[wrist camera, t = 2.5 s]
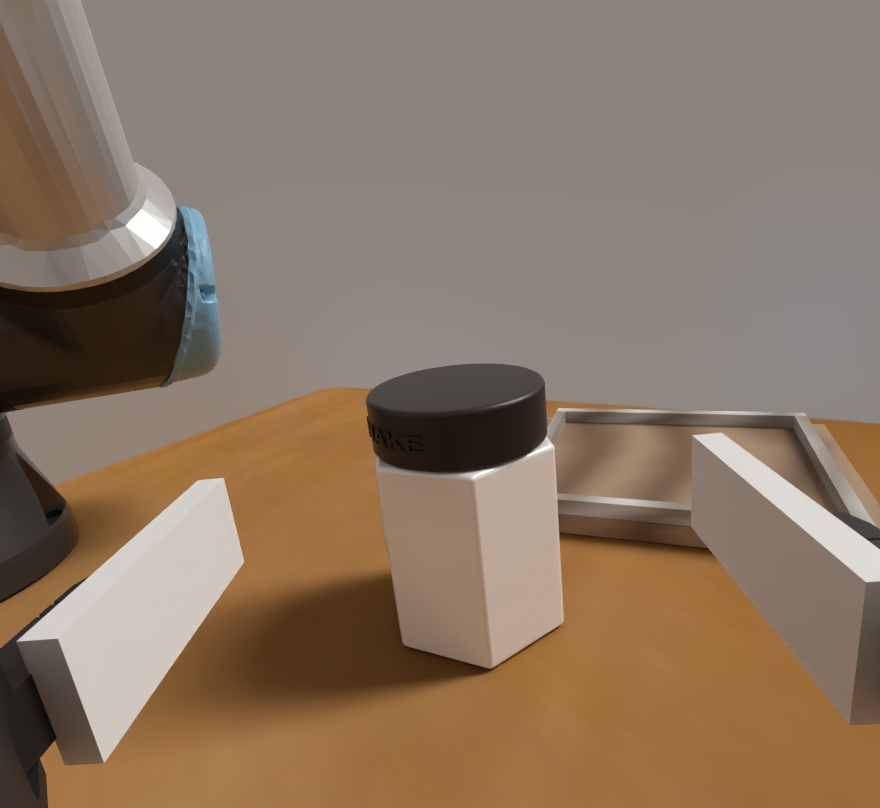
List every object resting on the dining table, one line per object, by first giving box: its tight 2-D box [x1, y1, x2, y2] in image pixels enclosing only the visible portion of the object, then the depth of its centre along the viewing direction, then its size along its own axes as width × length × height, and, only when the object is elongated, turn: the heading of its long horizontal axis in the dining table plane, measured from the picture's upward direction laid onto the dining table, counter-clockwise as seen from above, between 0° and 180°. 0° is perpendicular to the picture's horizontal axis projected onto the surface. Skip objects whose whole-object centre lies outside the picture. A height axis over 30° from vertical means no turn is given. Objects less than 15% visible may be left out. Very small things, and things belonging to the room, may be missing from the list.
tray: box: [547, 408, 880, 548], centre depth 39 cm, size 22×18×2 cm
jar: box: [366, 364, 564, 669], centre depth 26 cm, size 9×8×12 cm
